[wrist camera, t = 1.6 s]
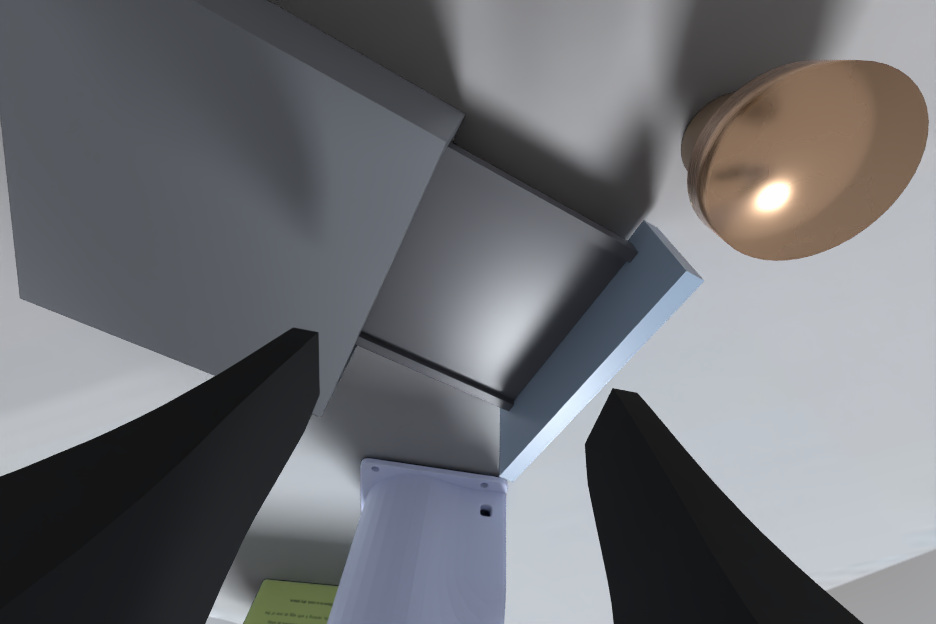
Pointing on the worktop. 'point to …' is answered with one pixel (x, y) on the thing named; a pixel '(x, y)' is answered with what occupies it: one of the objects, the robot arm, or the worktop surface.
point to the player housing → (207, 173)
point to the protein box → (291, 603)
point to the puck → (807, 156)
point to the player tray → (520, 300)
